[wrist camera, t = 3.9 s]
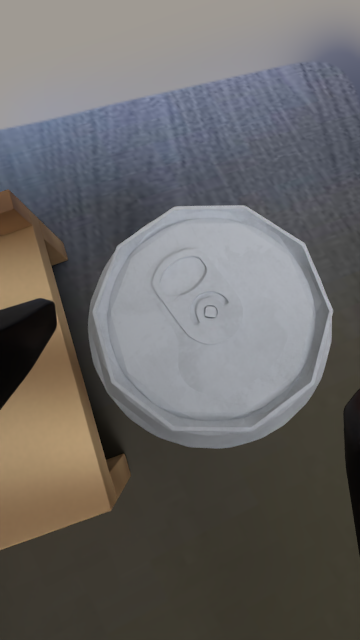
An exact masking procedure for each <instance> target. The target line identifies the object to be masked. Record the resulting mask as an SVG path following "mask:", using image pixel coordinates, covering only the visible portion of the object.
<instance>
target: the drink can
mask: <svg viewBox="0 0 360 640" xmlns="http://www.w3.org/2000/svg"><path fill="white" fill-rule="evenodd" d="M332 314H333V309H332V307H331V304H330V302H329V300H328V297H327V295H326V293H325V290H324V288H323V285H322V282H321V279H320V277H319V276H318V273H317V270H316V268H315V266H314V264H313V262H312V259H311V257H310V254H309V252H308V250H307V247H306V245H305V243H303V242H302V241H300V240H299V239H297V238H295V237H294V236H292V235H291V234H289V233H287V232H286V231H284V230H283V229H281V228H280V227H278V226H276V225H275V224H273V223H272V222H270V221H269V220H267V219H265V218H264V217H262V216H261V215H259V214H258V213H256V212H254V211H253V210H251V209H250V208H248V207H246V206H245V205H234V206H175V207H173V208H172V209H170V210H169V211H167V212H166V213H164V214H163V215H161V216H160V217H159V218H157V219H156V220H154V221H152V222H150V223H149V224H147V225H146V226H144V227H143V228H141V229H140V230H139V231H137V232H136V233H135V234H134V235H132V236H131V237H129V238H128V239H126V240H125V241H123V242H122V243H121V244H119V245H118V246H117V248H116V251H115V252H114V253H113V255H112V257H111V258H110V260H109V261H108V263H107V264H106V266H105V267H104V269H103V272H102V274H101V276H100V278H99V281H98V284H97V286H96V289H95V291H94V294H93V297H92V299H91V303H90V310H89V317H88V335H89V344H90V350H91V354H92V359H93V364H94V366H95V369H96V371H97V373H98V375H99V377H100V379H101V381H102V383H103V385H104V387H105V389H106V391H107V393H108V394H109V396H110V397H111V398H112V399H113V400H114V402H115V403H116V404H117V405H118V406H119V408H120V409H121V410H122V411H123V412H124V414H125V415H126V416H127V417H129V418H130V419H131V420H132V421H134V422H135V423H136V424H138V425H139V426H141V427H142V428H143V429H145V430H146V431H148V432H150V433H152V434H153V435H155V436H157V437H159V438H162V439H165V440H168V441H171V442H174V443H177V444H180V445H184V446H187V447H197V448H218V449H219V448H230V447H234V446H238V445H241V444H245V443H249V442H252V441H254V440H258V439H260V438H263V437H265V436H266V435H268V434H270V433H271V432H273V431H275V430H277V429H278V428H280V427H282V426H283V425H285V424H286V423H287V422H288V421H289V420H290V419H291V418H292V417H293V416H294V415H295V414H296V413H297V412H298V411H299V410H300V409H301V408H302V407H303V406H304V405H305V404H306V403H307V402H308V400H309V399H310V397H311V396H312V394H313V393H314V391H315V389H316V387H317V385H318V384H319V382H320V380H321V378H322V375H323V371H324V368H325V364H326V360H327V356H328V352H329V349H330V345H331V339H332Z"/></svg>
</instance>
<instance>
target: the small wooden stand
mask: <svg viewBox="0 0 360 640" xmlns="http://www.w3.org/2000/svg"><path fill="white" fill-rule="evenodd" d="M67 260H68V258H67V255H66V251H65V248H64V244H63V242H62V241H61V240H60V239H59V238H58V237H57V236H56V235H54V234H53V233H52V232H51V231H50V230H49V229H48V228H47V227H46V226H45V225H44V224H43V223H42V222H41V221H40V220H39V219H38V218H37V217H36V216H35V215H34V214H33V213H32V212H31V211H30V210H29V209H28V208H27V207H26V206H25V205H24V204H23V203H22V202H21V201H20V200H19V199H18V198H17V197H16V196H15V195H14V194H13V193H12V192H11V191H10V190H5V191H2V192H0V310H1V309H5V308H8V307H11V306H15V305H18V304H21V303H25V302H28V301H31V300H34V299H38V298H43V299H47V300H51V301H53V302H54V303H55V307H56V317H57V327H56V330H55V332H54V333H53V335H52V337H51V338H50V340H49V342H48V343H47V345H46V347H45V348H44V350H43V352H42V353H41V355H40V357H39V358H38V360H37V361H36V363H35V365H34V366H33V368H32V369H31V371H30V372H29V374H28V375H27V376H26V378H25V379H24V380H23V382H22V383H21V384H20V385H19V387H18V388H17V389H16V391H15V392H14V393H13V394H12V396H11V397H10V398H9V400H8V401H7V402H6V404H5V405H4V406H3V407H2V409H1V410H0V550H2V549H5V548H8V547H11V546H13V545H16V544H19V543H22V542H25V541H27V540H30V539H33V538H36V537H39V536H41V535H44V534H47V533H50V532H53V531H55V530H58V529H61V528H64V527H67V526H69V525H72V524H75V523H78V522H81V521H83V520H86V519H89V518H92V517H95V516H97V515H100V514H103V513H106V512H109V511H111V510H112V508H113V506H114V504H115V503H116V501H117V499H118V497H119V496H120V494H121V492H122V490H123V489H124V487H125V485H126V483H127V482H128V480H129V478H130V476H131V474H130V470H129V467H128V463H127V460H126V457H125V454H121V455H118V456H116V457H113V458H110V459H107V460H106V459H105V455H104V452H103V448H102V445H101V441H100V438H99V434H98V430H97V427H96V423H95V420H94V416H93V413H92V409H91V405H90V402H89V398H88V395H87V391H86V388H85V384H84V381H83V377H82V373H81V370H80V366H79V363H78V359H77V356H76V352H75V348H74V345H73V341H72V338H71V334H70V331H69V327H68V323H67V320H66V316H65V313H64V309H63V306H62V302H61V299H60V295H59V291H58V288H57V284H56V281H55V277H54V274H53V270H52V265H55V264H58V263H61V262H64V261H67Z"/></svg>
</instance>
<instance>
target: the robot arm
mask: <svg viewBox="0 0 360 640" xmlns="http://www.w3.org/2000/svg"><path fill="white" fill-rule="evenodd" d="M56 327H57V317H56V307H55V303H54V302H53V301H51V300H47V299H43V298H38V299H34V300H31V301H28V302H25V303H21V304H18V305H15V306H11V307H8V308H5V309H1V310H0V410H1V409H2V407H3V406H4V405H5V404H6V402H7V401H8V400H9V398H10V397H11V396H12V394H13V393H14V392H15V391H16V389H17V388H18V387H19V385H20V384H21V383H22V382H23V380H24V379H25V378H26V376H27V375H28V374H29V372H30V371H31V369H32V368H33V366H34V365H35V363H36V361H37V360H38V358H39V357H40V355H41V353H42V352H43V350H44V348H45V347H46V345H47V343H48V342H49V340H50V338H51V337H52V335H53V333H54V332H55V330H56ZM344 439H345V461H346V471H347V478H348V484H349V491H350V497H351V503H352V510H353V516H354V523H355V529H356V536H357V542H358V549H359V555H360V389H359V390H358V391H357V392H356V393H355V395H354V396H353V397H352V398H351V399H350V401H349V402H348V403H347V404H346V406H345V408H344Z"/></svg>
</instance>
